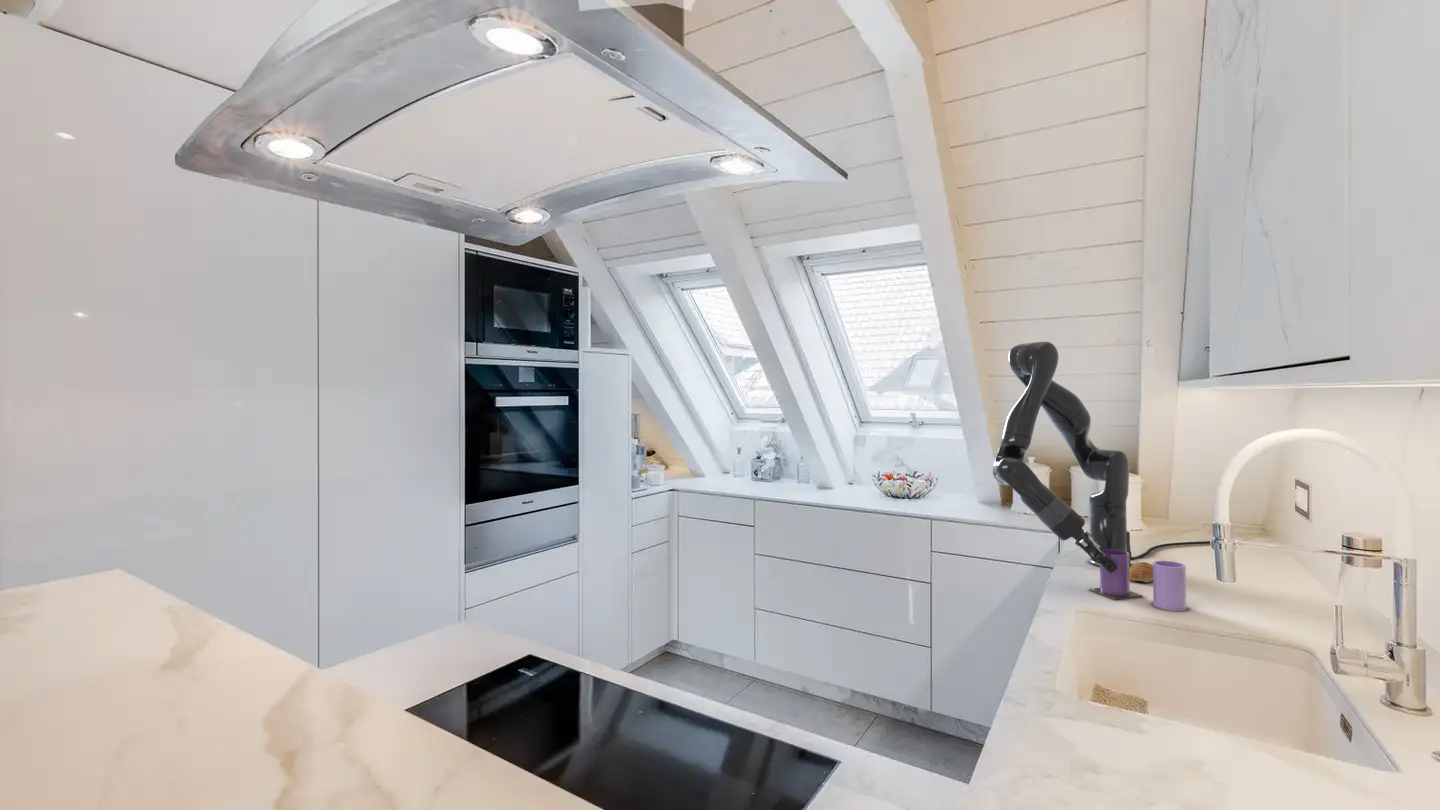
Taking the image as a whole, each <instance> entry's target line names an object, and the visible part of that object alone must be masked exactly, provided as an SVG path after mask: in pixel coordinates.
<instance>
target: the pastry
mask: <svg viewBox="0 0 1440 810" xmlns="http://www.w3.org/2000/svg"><path fill="white" fill-rule="evenodd" d="M1129 578H1130V581H1132V582H1133V581H1134V582H1135V581H1137V582H1144V583H1148V584H1149V583H1153V564H1151V563H1149V562H1145V561H1142V562H1135V564H1133V565H1131V566H1129Z"/></svg>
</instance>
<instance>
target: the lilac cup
mask: <svg viewBox="0 0 1440 810" xmlns="http://www.w3.org/2000/svg"><path fill="white" fill-rule="evenodd" d="M1152 565H1153V582H1152V583H1153V584H1152V585H1153V586H1152V587H1153V593H1152V594H1153V595H1152V596H1153V606H1154V607H1155V608H1157V609H1161V610H1165V611H1171V612H1184V611H1186V610H1187V579H1186V578H1187V575H1186V574H1187V573H1186V572H1187V571H1186V568H1187V567H1186V564H1184V563H1182V562H1177V561H1173V560H1154V561H1153V562H1152Z"/></svg>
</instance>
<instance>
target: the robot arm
mask: <svg viewBox="0 0 1440 810" xmlns="http://www.w3.org/2000/svg"><path fill="white" fill-rule="evenodd" d="M1058 363H1059V352H1058V349H1057V347H1056V345H1054V344H1053V343H1052V342H1050V341H1035V342H1027V343H1025V342H1024V343H1020V344H1017V345H1014V346H1013V347H1012V348H1011V349H1010V350H1009V353H1008V364H1009V366H1010V369H1011V370H1012V372H1013V374H1014V375H1015V376H1016V377H1017V379H1018V380H1019V381H1020V382H1021V383H1022V384H1023V385H1024V386H1025V387H1026V388H1025V390H1024V392H1023V393H1022V395H1021V396H1020V397H1019V399H1018V400H1017V401H1016V402H1015V404H1014V406H1012V408H1011V409H1010V411H1009V413H1008V415H1007V416H1006V419H1005V424H1004V428H1003V432H1002V436H1001V442H1000V445H999V448H998V451H997V453H996V456H995V458H994V461H993V464H992V465H993V466H992V476H993V478H994V480H995V481H996V482H997V483H998V484H999V485H1002V486H1009V487H1010V488H1012V489H1013V490H1014V491H1015V492H1016V493H1017V495H1018V496H1019V499H1020V500H1021V502H1022V503H1023V504H1024V506H1025V507H1027V508H1028V509H1029V510H1030V511H1031V512H1032V513H1034V514H1035V516H1036V517H1037V518H1038V519H1039V520H1040V522H1042V523H1043V524H1044V525H1045V526H1046V527H1047V528H1048V529H1050V531H1051V532H1052V533H1053V534H1054V535H1055V536H1056V537H1058V539H1060V540H1061V541H1068V540H1070V538H1073V539H1074V541H1073V542H1074V544H1075V545H1076V546H1077V547H1078V548H1079V549H1081V550H1082V551H1083V552H1084V553H1085V554H1086V555H1087V556H1089V563H1090V564H1092V565H1095V566H1099V567H1100V564H1101V565H1102V566H1103V567H1104V568H1105V569H1107V570H1108V571H1109V572H1110V573H1112V572H1113V571H1115V570H1116V569H1117V566H1116V565H1115V564H1114V563H1113V562H1112V561H1111V560H1110V559H1109V558H1107V557H1106V555H1105V554H1104V553H1103V552H1102V551H1101V550H1103V549H1115V550H1122V551H1126V552H1128V553H1129V566H1130V565H1131V560H1137V559H1138V560H1139V559H1142V558H1144V557H1146V556H1148V555H1149V554H1150V553H1151V552H1152V551H1154V550H1157V549H1161V548H1166V547H1174V546H1188V545H1189V546H1191V545H1209V544H1210V541H1211V540H1201V541H1181V542H1170V543H1163V544H1158V545H1154V546H1152V547H1150V548H1148V549H1147V551H1145V552H1144V553H1143V552H1142V553H1141V554H1139V555H1137V556H1132V551H1131V533H1130V532H1129V531H1128V530H1127V529H1128V527H1127V526H1128V525H1127V524H1128V523H1127V521H1128V520H1127V500H1128V497H1129V490H1130V489H1129V488H1130V487H1129V486H1130V485H1129V484H1130V461H1129V458H1128V455H1127V454H1126V452H1123V450H1118V449H1105V448H1104V449H1103V448H1098V447H1097V446H1096V445H1095V444H1094V443H1093V441H1092V440H1091V437H1090V435H1089V434H1090V431H1091V426H1092V425H1091V424H1092V417H1091V415H1090V412H1089V410H1088V409H1087V408H1086V406H1085V404H1084V403H1083V401H1082V400H1081V399H1080V398H1079V397H1078V395H1076V394H1075V393H1074V392H1072V391H1071V390H1070V389H1067V388H1066V387H1064V386H1063V385H1061V384H1059V383H1058V382H1056V381H1054V380H1053V378H1054V376H1055V373H1056V371H1057V368H1058ZM1041 407H1042V409H1043V410H1044V411H1045V413H1046V414H1047V416H1048V418H1049V419H1050V421H1051V422H1052V424H1053V426H1054V428H1056V429H1057V430H1058V432H1059V433H1060V434H1061V436H1062V438H1063V440H1064V441H1065V442H1066V444H1067V446H1068V447H1069V448H1070V450H1071V452H1072V454H1073V455H1074V459H1076V461H1077V463H1078V465H1079V467H1080V469H1081V471H1082V472H1083V474H1084V475H1085V476H1086V477H1087V478H1088V479H1090V480H1093V481H1097V482H1098V481H1099V482H1105V483H1104V488H1103V489H1102V490H1100V491H1097V492H1093V493H1090V494H1089V497H1088V502H1089V503H1088V507H1089V509H1088V510H1089V511H1088V512H1089V513H1088V514H1089V532H1088V531H1087V530H1084V529H1083V527H1084V526H1085V524H1086V520H1085V519H1084V518H1083V517H1082V516H1081V515H1080V514H1079V513H1077V512H1076V510H1074V509H1073V508H1072V507H1071V506H1069V505H1068V503H1067V502H1065V501H1064V500H1063V499H1062V498H1061V497H1059V496H1058V495H1056V494H1055V493H1054V492H1053V491H1052V490H1051V489H1050V488H1049V487H1048V486H1046V485H1045V484H1044V483H1043V482H1041V480H1040V479H1039V477H1038V476H1037V474H1035V473H1034V471H1033V469H1031V468H1030V467H1029V465H1028V464H1027V463H1026V462H1024V460H1025V459H1024V458H1025V455H1026V453H1027V451H1028V450H1029V448H1030V446H1031V442H1032V438H1033V434H1034V430H1035V425H1036V421H1037V418H1038V415H1039V413H1040V409H1041ZM1210 545H1211V544H1210Z"/></svg>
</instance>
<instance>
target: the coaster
mask: <svg viewBox="0 0 1440 810" xmlns="http://www.w3.org/2000/svg"><path fill="white" fill-rule="evenodd" d="M1089 591H1090V592H1093V593H1096V594H1097V595H1101V596H1103V597H1105V598H1108V599H1112V600H1113V601H1116V600H1126V599H1137V598H1143V594H1141V593H1137V592H1134V591H1131V590H1130V594H1129V595H1127V596H1115V595H1109V594H1105V593H1103V592H1101V589H1100V587H1095V588H1094V587H1093V588H1089Z"/></svg>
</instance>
